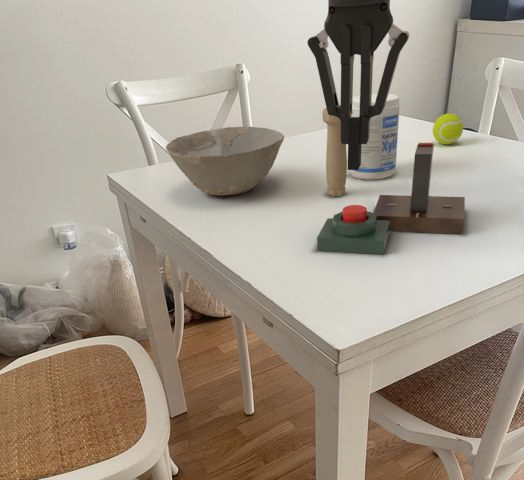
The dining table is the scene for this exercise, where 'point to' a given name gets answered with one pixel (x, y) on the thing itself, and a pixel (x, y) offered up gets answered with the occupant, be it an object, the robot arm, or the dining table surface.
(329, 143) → the handle
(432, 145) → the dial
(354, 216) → the button
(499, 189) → the dining table surface
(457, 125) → the tennis ball
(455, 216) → the panel
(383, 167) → the supplement tub
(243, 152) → the ceramic bowl
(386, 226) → the button box
